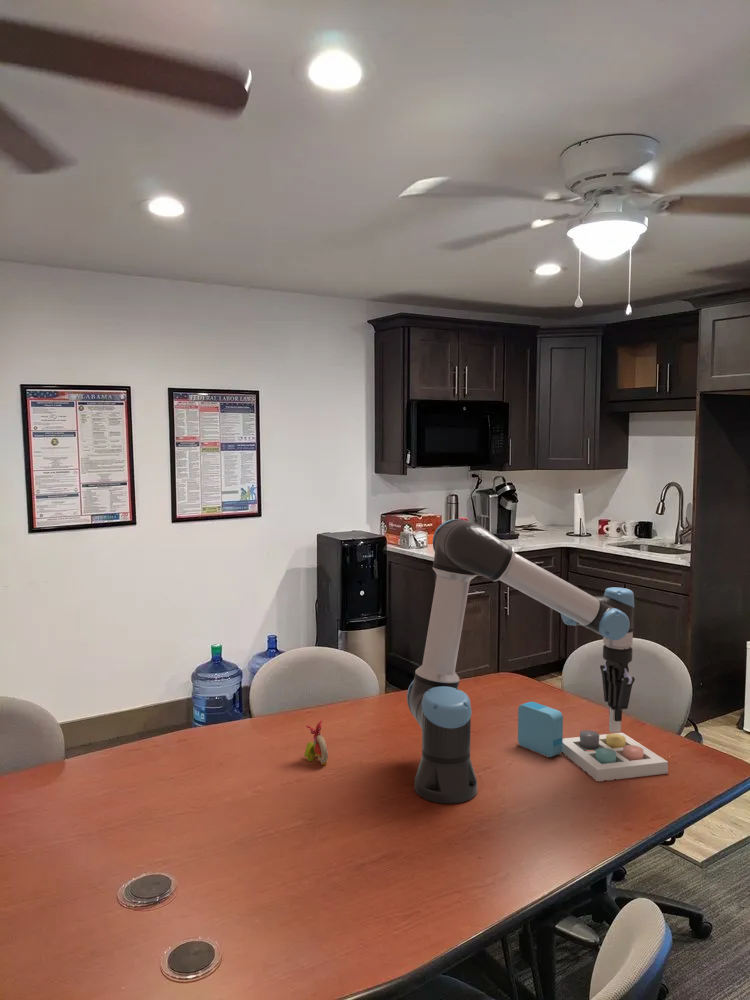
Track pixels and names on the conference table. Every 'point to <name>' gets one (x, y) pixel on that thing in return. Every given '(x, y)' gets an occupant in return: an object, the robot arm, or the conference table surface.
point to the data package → (540, 728)
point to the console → (621, 767)
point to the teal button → (605, 755)
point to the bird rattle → (317, 746)
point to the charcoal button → (589, 739)
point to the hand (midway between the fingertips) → (614, 731)
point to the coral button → (633, 752)
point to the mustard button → (615, 740)
